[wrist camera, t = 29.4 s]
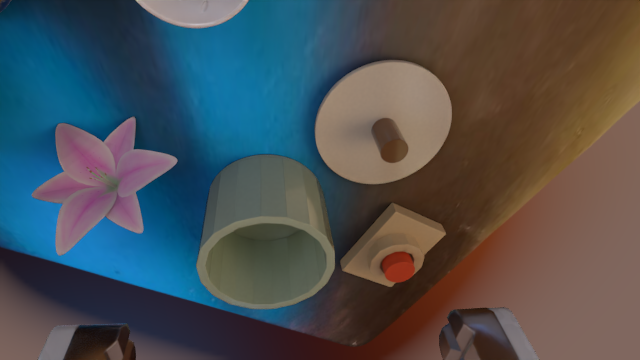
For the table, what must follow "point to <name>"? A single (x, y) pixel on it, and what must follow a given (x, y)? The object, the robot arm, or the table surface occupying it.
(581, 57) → the table surface
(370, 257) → the button block
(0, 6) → the beverage bottle
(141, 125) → the table surface
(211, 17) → the white cup
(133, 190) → the lily
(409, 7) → the table surface
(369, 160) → the jar lid
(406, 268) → the button
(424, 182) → the table surface
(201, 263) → the storage jar
